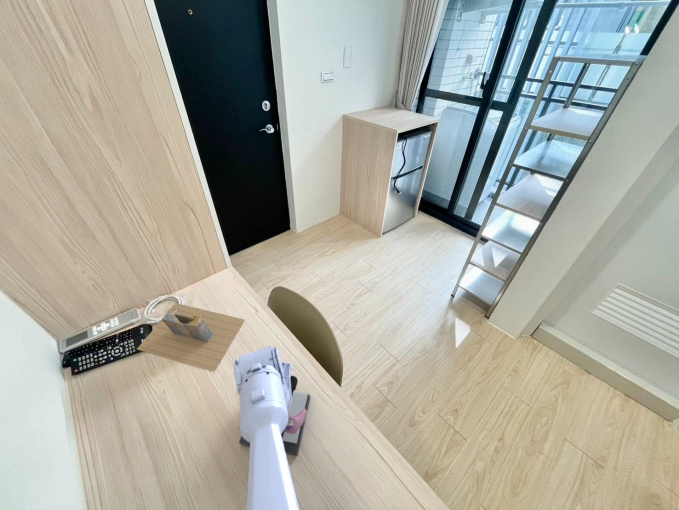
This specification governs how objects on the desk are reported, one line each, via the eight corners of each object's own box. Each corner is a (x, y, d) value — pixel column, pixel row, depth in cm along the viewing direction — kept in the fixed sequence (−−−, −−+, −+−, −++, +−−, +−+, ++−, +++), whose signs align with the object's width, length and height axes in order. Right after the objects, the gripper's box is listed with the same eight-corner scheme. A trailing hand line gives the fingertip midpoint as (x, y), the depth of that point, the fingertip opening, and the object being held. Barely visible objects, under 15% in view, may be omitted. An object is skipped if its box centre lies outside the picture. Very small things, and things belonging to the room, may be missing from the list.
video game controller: (262, 414, 59) (247, 420, 53) (270, 392, 61) (257, 395, 54) (302, 433, 57) (292, 441, 50) (310, 410, 58) (301, 415, 52)
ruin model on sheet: (245, 319, 83) (236, 300, 76) (214, 371, 72) (201, 354, 65) (175, 303, 88) (161, 283, 81) (136, 349, 76) (116, 331, 69)
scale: (297, 456, 59) (296, 453, 57) (241, 444, 60) (238, 442, 58) (310, 397, 67) (309, 393, 65) (260, 388, 68) (258, 384, 67)
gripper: (263, 349, 53) (275, 377, 62) (230, 435, 42) (250, 453, 52) (298, 355, 52) (304, 382, 61) (273, 444, 42) (285, 460, 51)
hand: (282, 415), depth 57 cm, fingers closed on video game controller, 6 cm apart
